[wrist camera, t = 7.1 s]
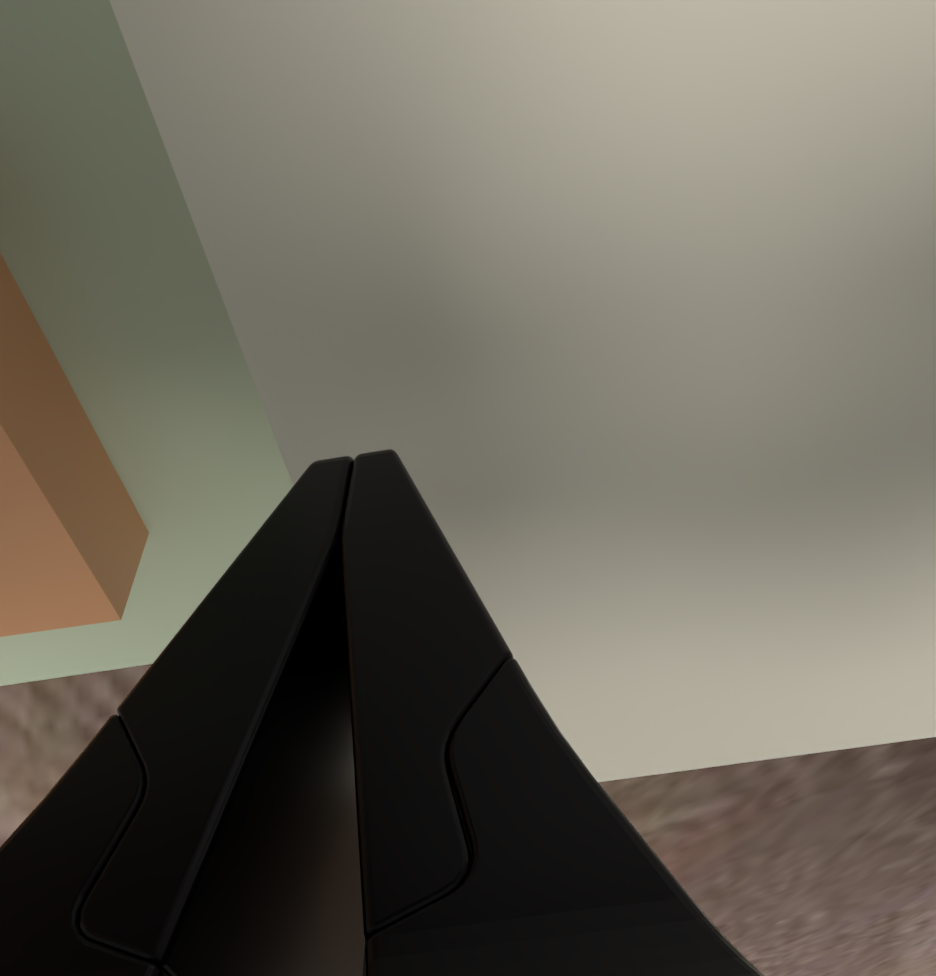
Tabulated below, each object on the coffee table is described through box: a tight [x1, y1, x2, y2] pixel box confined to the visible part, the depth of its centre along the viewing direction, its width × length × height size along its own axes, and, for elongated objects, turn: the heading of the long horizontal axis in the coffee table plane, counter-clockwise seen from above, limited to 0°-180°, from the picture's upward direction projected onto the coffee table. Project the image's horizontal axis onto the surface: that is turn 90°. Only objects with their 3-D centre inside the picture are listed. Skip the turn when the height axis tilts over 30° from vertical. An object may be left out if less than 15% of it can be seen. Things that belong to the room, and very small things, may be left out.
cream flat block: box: [109, 0, 936, 782], centre depth 11 cm, size 16×12×4 cm
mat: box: [0, 0, 293, 686], centre depth 13 cm, size 15×8×1 cm, turn 9°
